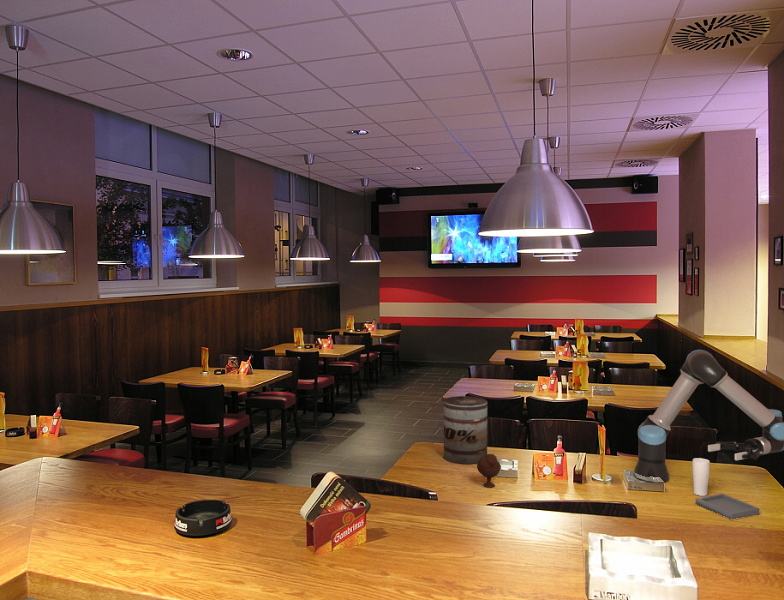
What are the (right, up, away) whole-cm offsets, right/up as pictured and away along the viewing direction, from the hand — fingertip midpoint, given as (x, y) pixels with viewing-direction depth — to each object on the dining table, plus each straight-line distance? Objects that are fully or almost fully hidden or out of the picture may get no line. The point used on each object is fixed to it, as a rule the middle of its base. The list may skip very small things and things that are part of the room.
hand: (721, 452), depth 264 cm
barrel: (-107, -15, +49) cm, 119 cm away
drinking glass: (-11, -18, -3) cm, 21 cm away
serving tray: (-9, -18, -19) cm, 28 cm away
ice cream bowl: (-101, -18, +9) cm, 103 cm away
